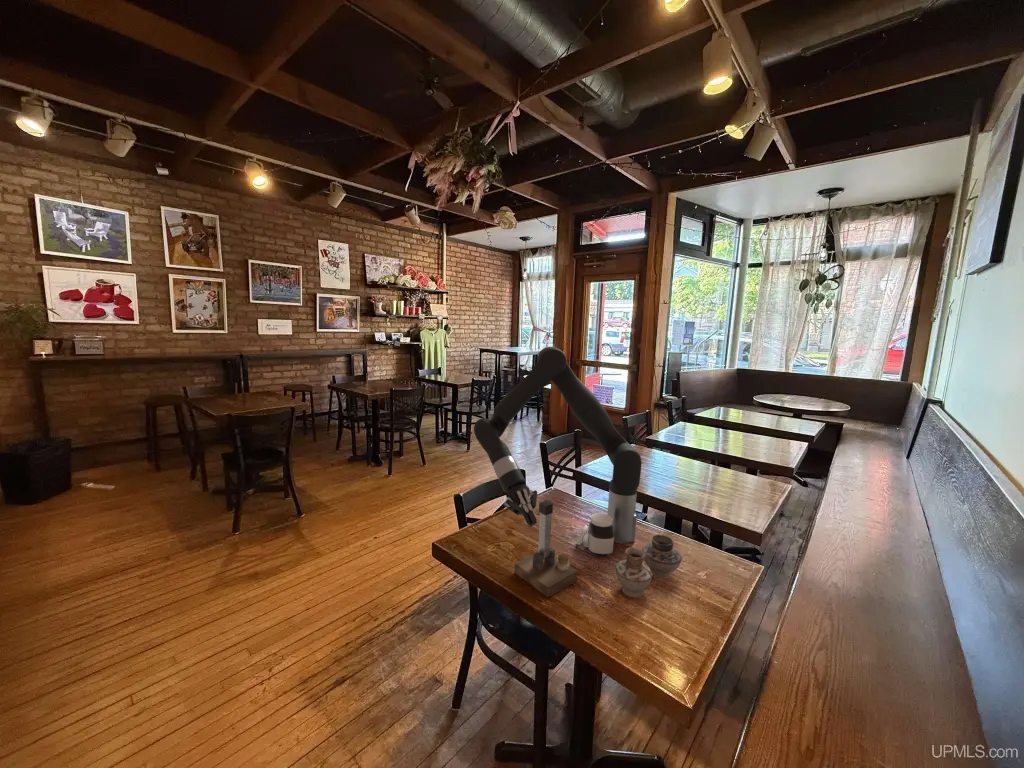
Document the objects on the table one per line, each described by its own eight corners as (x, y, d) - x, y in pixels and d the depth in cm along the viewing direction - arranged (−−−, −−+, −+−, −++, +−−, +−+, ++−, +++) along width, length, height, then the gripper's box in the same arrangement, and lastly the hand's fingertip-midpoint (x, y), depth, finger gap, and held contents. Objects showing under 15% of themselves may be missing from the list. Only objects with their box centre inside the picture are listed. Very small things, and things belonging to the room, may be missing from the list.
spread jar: (615, 559, 130) (617, 525, 128) (579, 559, 130) (581, 525, 128) (606, 539, 142) (608, 508, 140) (573, 539, 141) (575, 507, 140)
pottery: (605, 588, 116) (607, 549, 114) (653, 557, 132) (656, 522, 130) (640, 610, 107) (643, 569, 105) (686, 574, 123) (690, 537, 121)
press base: (514, 572, 122) (515, 549, 121) (543, 558, 130) (544, 536, 128) (547, 597, 111) (548, 572, 110) (577, 580, 119) (578, 556, 118)
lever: (537, 558, 121) (539, 502, 118) (543, 554, 122) (546, 500, 120) (543, 562, 118) (546, 506, 116) (550, 559, 120) (552, 503, 117)
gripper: (497, 472, 123) (523, 526, 116) (529, 463, 132) (555, 513, 124) (486, 483, 128) (510, 536, 121) (518, 474, 137) (542, 522, 129)
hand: (533, 524), depth 123 cm, fingers closed
